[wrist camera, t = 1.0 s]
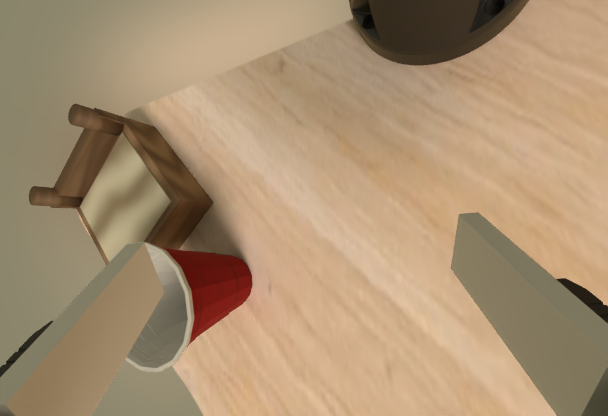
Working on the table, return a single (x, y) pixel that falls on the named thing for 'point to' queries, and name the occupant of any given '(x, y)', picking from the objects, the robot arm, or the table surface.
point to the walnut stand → (125, 184)
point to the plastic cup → (187, 302)
